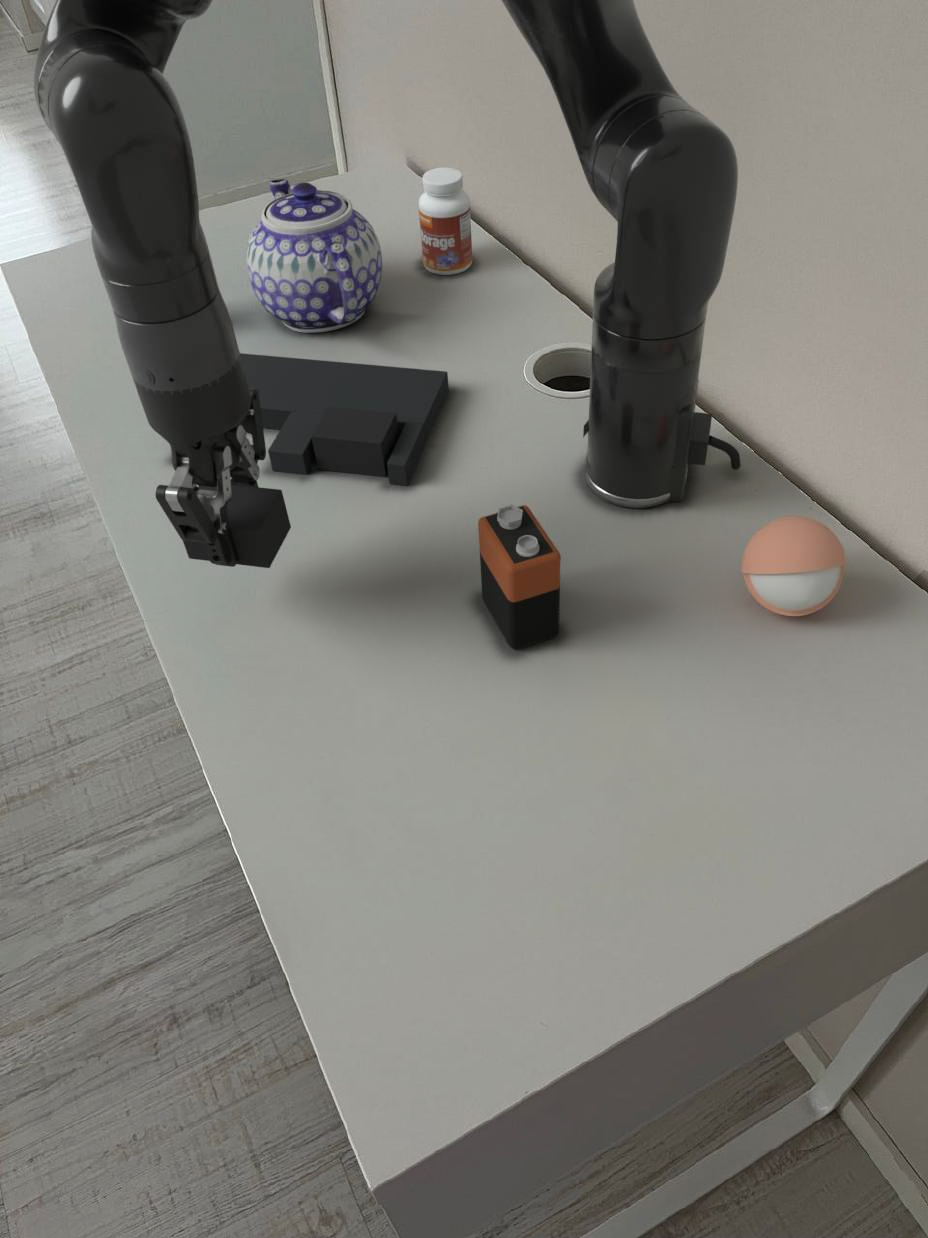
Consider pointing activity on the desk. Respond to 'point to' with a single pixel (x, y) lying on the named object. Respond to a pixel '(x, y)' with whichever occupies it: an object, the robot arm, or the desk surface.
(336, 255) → the teapot
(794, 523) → the toy ball
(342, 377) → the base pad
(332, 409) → the pad
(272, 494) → the pad
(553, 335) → the desk surface
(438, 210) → the pill bottle
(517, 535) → the battery
